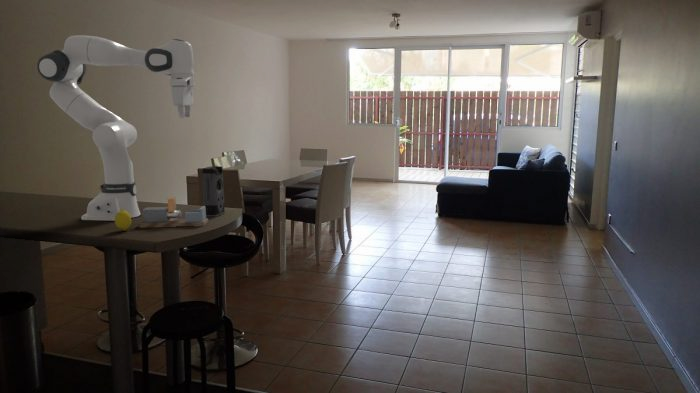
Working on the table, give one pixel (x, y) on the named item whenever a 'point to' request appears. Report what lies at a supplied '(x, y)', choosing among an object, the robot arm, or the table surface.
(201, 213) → the socket block
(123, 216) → the lemon
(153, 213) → the outer sleeve
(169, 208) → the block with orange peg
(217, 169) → the electronic device
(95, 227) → the table surface
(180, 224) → the bench board
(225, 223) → the table surface
